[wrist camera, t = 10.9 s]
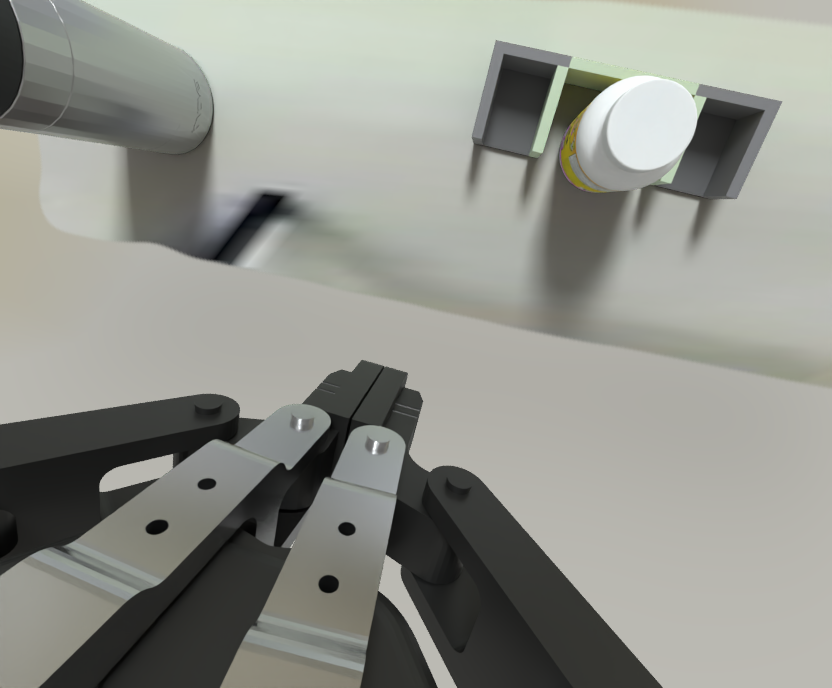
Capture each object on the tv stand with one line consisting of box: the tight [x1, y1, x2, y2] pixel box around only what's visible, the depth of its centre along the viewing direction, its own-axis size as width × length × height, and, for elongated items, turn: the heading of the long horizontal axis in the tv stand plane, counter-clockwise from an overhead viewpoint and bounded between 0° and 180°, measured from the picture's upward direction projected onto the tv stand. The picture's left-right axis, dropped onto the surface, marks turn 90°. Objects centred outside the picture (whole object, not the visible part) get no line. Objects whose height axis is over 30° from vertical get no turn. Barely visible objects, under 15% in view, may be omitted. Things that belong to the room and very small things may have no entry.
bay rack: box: [472, 40, 782, 199], centre depth 33 cm, size 20×6×4 cm, turn 77°
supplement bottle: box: [559, 76, 697, 193], centre depth 30 cm, size 7×7×13 cm
